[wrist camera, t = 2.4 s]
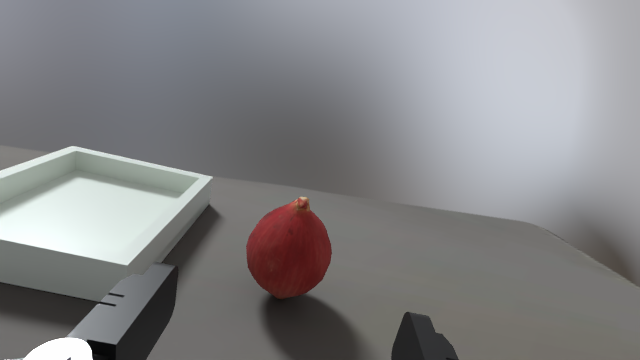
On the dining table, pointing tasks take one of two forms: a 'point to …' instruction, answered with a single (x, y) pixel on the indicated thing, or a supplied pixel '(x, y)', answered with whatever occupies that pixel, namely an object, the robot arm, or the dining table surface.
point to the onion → (289, 250)
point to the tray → (92, 219)
